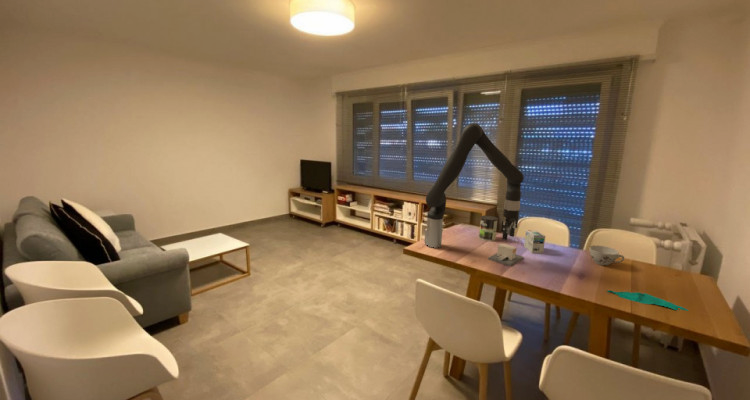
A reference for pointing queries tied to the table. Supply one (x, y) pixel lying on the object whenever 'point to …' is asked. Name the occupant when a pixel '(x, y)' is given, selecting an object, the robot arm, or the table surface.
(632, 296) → the cloth
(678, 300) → the table surface
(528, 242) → the light bulb box
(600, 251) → the teacup
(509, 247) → the block
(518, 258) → the mounting board
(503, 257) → the metal rail
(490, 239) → the coffee can
